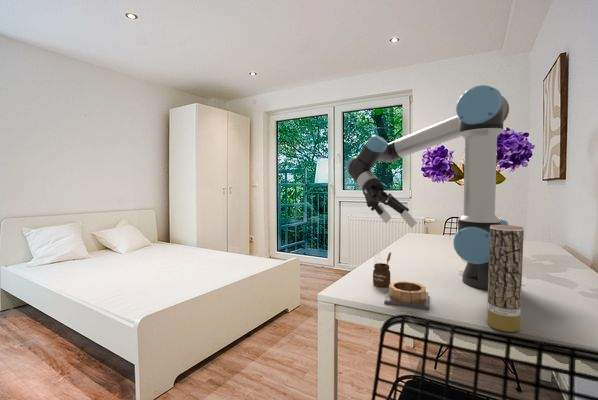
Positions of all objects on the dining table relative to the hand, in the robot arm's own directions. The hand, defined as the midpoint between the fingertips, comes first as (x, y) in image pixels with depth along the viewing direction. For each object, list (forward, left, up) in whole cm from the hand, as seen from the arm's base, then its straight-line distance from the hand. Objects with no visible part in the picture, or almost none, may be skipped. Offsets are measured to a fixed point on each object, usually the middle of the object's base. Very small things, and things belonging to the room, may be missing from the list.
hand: (401, 222), depth 105 cm
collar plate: (-3, +12, -22) cm, 25 cm away
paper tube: (-26, +22, -22) cm, 40 cm away
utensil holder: (+6, +1, -22) cm, 23 cm away
